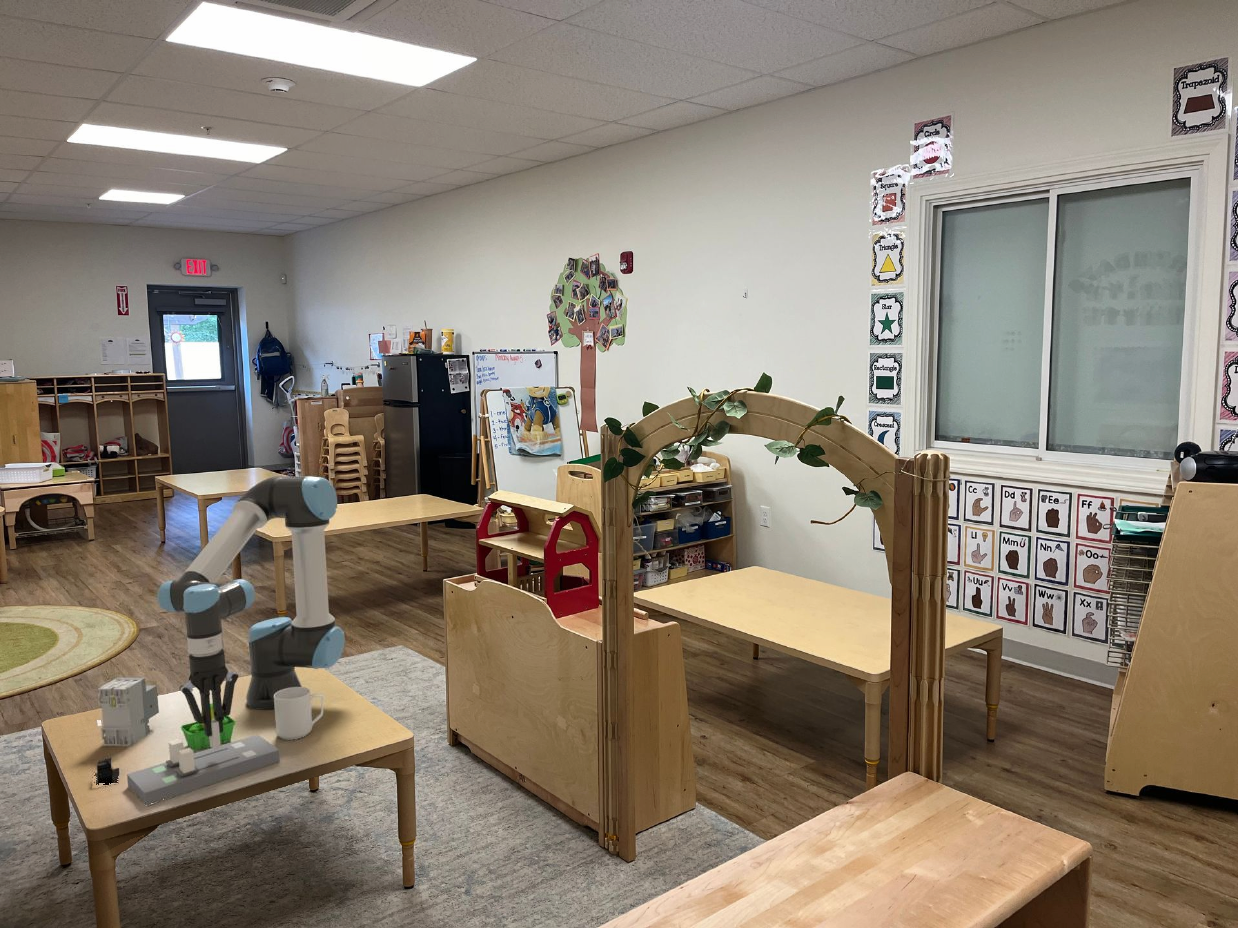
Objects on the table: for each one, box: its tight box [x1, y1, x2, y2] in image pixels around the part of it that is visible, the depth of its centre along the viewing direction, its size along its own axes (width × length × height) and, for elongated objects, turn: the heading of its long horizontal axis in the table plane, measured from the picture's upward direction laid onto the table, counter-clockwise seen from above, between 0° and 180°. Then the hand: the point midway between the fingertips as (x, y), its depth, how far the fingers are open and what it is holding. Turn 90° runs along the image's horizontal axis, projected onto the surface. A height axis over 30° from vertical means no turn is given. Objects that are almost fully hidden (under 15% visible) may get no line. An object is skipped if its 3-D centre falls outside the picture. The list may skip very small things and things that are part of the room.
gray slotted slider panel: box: [126, 734, 281, 806], centre depth 211 cm, size 30×13×3 cm, turn 134°
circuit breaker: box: [97, 677, 160, 747], centre depth 234 cm, size 8×14×15 cm, turn 174°
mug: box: [274, 686, 324, 741], centre depth 233 cm, size 12×9×11 cm
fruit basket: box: [180, 702, 236, 752], centre depth 227 cm, size 11×9×11 cm
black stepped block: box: [94, 757, 120, 786], centre depth 210 cm, size 12×7×5 cm, turn 27°
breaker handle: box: [165, 738, 185, 767], centre depth 209 cm, size 4×3×5 cm
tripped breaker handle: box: [176, 747, 199, 777], centre depth 204 cm, size 4×3×5 cm
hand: (215, 746), depth 212 cm, fingers closed
